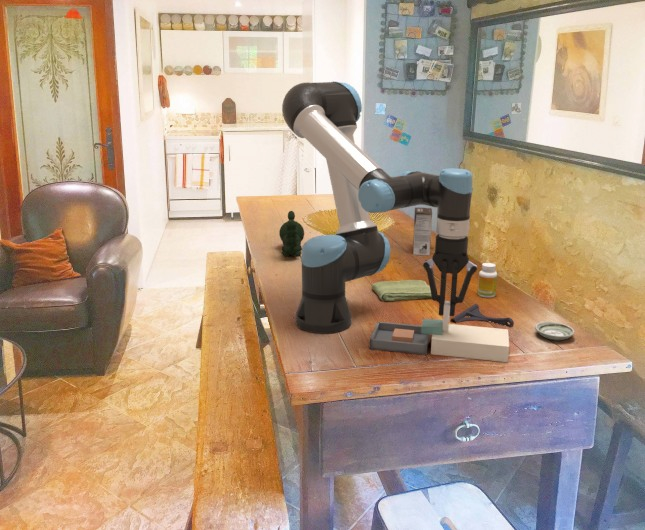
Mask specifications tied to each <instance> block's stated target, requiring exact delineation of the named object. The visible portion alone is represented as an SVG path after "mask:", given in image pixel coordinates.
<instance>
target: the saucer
mask: <svg viewBox="0 0 645 530" xmlns="http://www.w3.org/2000/svg"><path fill="white" fill-rule="evenodd" d="M534 329H535V331H536V332H537V333H538V334H539V335H540V336H542V337H544V338H545V339H547V340H550V341H563V340H567V339H569V338H571V337H573V336H575V329H574V328H573V327H572V326H569V325H568V324H564V323H561V322H556V321H541V322H538V323H536V324H535V325H534Z"/></svg>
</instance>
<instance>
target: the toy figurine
mask: <svg viewBox="0 0 645 530" xmlns="http://www.w3.org/2000/svg"><path fill="white" fill-rule="evenodd" d="M287 213H288V214H287V219H288V220H287V221H286V222H284V223H283V224H282V225H281V226H280V228H279V231H278V232H279V238H280V241H282V247H281V249H282V250H281V251H282V256H284V257H285V258H288V257H289V256H294V257H297V258H298V257H300V256H302V247H303V246H302V245H301V244H302V242H303V239H304V238H305V230H304V227H303V225H302V224H301V223H300V222H298V221H296V220H295V217H296V215H295V214H296V213H295V212H294V211H293V210H290V211H288V212H287Z"/></svg>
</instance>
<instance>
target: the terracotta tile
mask: <svg viewBox="0 0 645 530" xmlns="http://www.w3.org/2000/svg"><path fill="white" fill-rule="evenodd" d="M413 340H414V330H406V329H396V328H395V330H394V332H393V335H392V341H400V342H410V343H413Z"/></svg>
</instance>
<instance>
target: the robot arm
mask: <svg viewBox="0 0 645 530" xmlns="http://www.w3.org/2000/svg"><path fill="white" fill-rule="evenodd" d="M362 105H363V104H362V101H361V97H360V95H359V93H358V91H357V90H356V88H354V86H352V85H351V84H349V83H346V82H340V81H325V82H301V83H298V84H296V85H294V86H292V87H291V88H290V89H289V90H288V91H287V93H286V94H285V95H284V98H283V101H282V105H281V109H282V110H281V111H282V117H283V119H284V122H285V123H286V125H287V127H288V128H289V129H290V131H292V133H294V135H296V136H297V137H298V138H300V139H305V140H307V142H308V143H309V144H310V145H312V147H313V148H315V149H316V150H317V152H319V154H321V156H322V157H324V158H325V159H326V165H327V170H328V174H329V180H330V184H331V190H332V193H333V194H332V195H333V199H334V205H335V208H336V214H337V217H338V218H337V219H338V223H339V226H338V227H339V228H338V229H337V230H336V232H335V234H326V235H325V234H321V235H317V236H314V237H312V238H309V239H307V240H306V241H305V242H303V245H302V246H301V247H302V250H301V255H300V256H301V257H300V262H301V298H300V301H299V304H298V307H297V309H296V314H295V324H296V326H297V327H298V328H299V329H301V330H303V331H305V332H308V333H315V334H317V333H319V334H331V333H332V334H333V333H338V332H342V331H345V330H347V329H348V328H350V327H351V325H352V313H351V309H350V306H349V303H348V301H347V298H346V282H351V281H354V280H357V279H361V278H364V277H372V276H374V275H375V274H377V273H380V272H382V271H383V270H385V269H386V267H387V265H388V264H389V262H390V258H391V246H390V245H391V244H390V242H389V239H388V237H386V236H385V234H384V233H383V232H382V231H381V232H380V231H379V229H378V224H377V223H375V222H373V221H372V219H371V218H370V214H377V213H387V212H390V211H393V210H398V209H406V208H410V207H414V206H420V205H421V206H422V205H423V206H429V207H431V208H432V207H433V208H437V211H436V213H437V214H436V215H437V216H436V228H435V229H436V231H435V232H436V234H437V235H436V236H435V243H434V253H433V254H432V257H431V258H430V259H425V260H424V261H423V263H422V264H423V265H422V266H423V268H424V270H425V271H426V274H427V279H428V283H429V284H428V285H429V286H430V290H431V296H432V298H431V300H432V301H433V302H437V303H439V304H438V315H439V316H442V320H443V327H442V329H443V330H449V324H450V320H451V319H450V318H451V317H452V318H454V317H455V316H456V314H455V313H456V305H457V304H462V303H463V302H464V300H465V297H466V294H467V291H468V288H469V286H470V282H471V280H472V277H473V275H474V274H475V273H476V272H477V270H478V264H476V263H473V262H472V261H470V260H469V256H468V247H469V246H468V245H469V237H468V235H469V234H470V233H469V232H470V220H471V218H470V216H471V214H470V213H471V204H472V195H473V174H472V172H471V170H468V169H464V168H458V167H457V168H456V167H455V168H453V167H452V168H451V167H450V168H449V167H447V168H443V169H442V170H440V171H439V175H437V174H431V173H426V172H422V171H419V170H418V171H417V170H416V171H412V170H407V171H404V172H403V173H402V174H400V176H399V175H398V176H390V175H389V173H387V172H386V171H385V170H384V169H383V168H381V167H380V165H378V164H377V163H376V162H375V161H374V160H373V159H372V158H371V157H370V156H368V155H367V153H366V152H364V151H363V150H362V149H361V148H360V147H359V146H358V145H357V144H356V143H355V139H354V133H355V131H356V130H357V128H358V125H357V122H358V121H359V120H360V117H361V113H362V111H363V107H362ZM434 265H435V266H436V267H437V269H438V270H439V271H440V289H439V293H438V289H437V285H436V280H435V279H436V278H435V273H434V269H433V268H434ZM465 267H466V268H465ZM464 268H465V269H466V274H465V277H464V280H463V282H462V286H461V289H460V291H459V293H458V296H457V286H458V275H459V273H460V272H461V271H462V270H463V269H464ZM448 274H451V286H450V287H451V289H450V299H449V300H450V301H449V300H446V292H447V291H446V290H447V289H446V288H447V277H448V276H447V275H448Z"/></svg>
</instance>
